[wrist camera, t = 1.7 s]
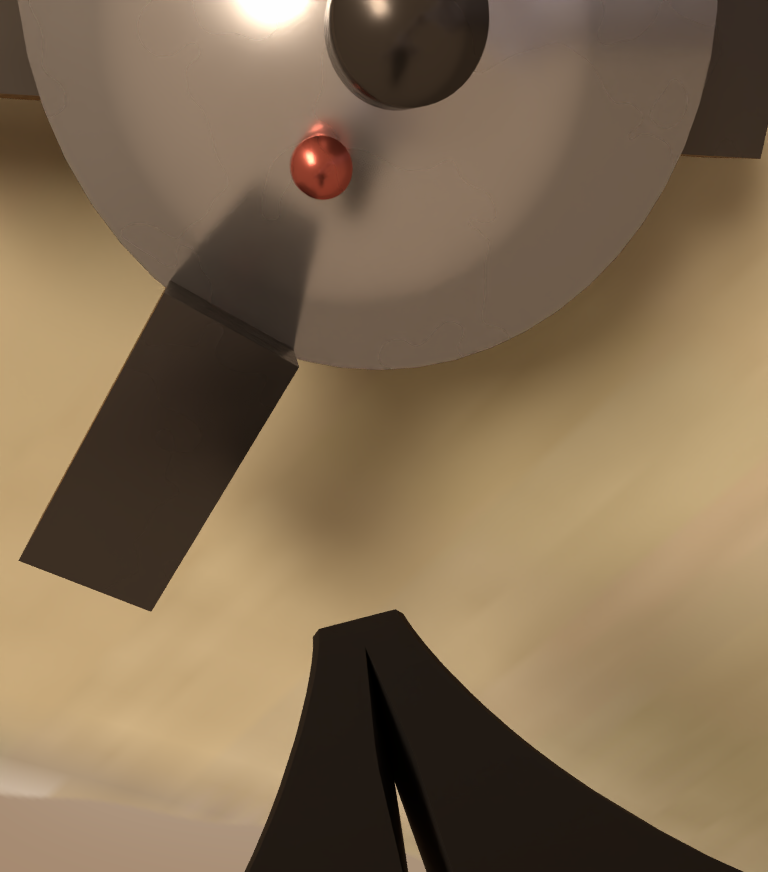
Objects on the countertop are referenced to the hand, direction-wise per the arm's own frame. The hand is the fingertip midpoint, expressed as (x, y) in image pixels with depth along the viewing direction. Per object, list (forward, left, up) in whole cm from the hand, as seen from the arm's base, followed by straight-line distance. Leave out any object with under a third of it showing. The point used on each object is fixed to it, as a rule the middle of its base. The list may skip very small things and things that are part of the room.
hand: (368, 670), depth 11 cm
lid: (0, -7, -5) cm, 9 cm away
